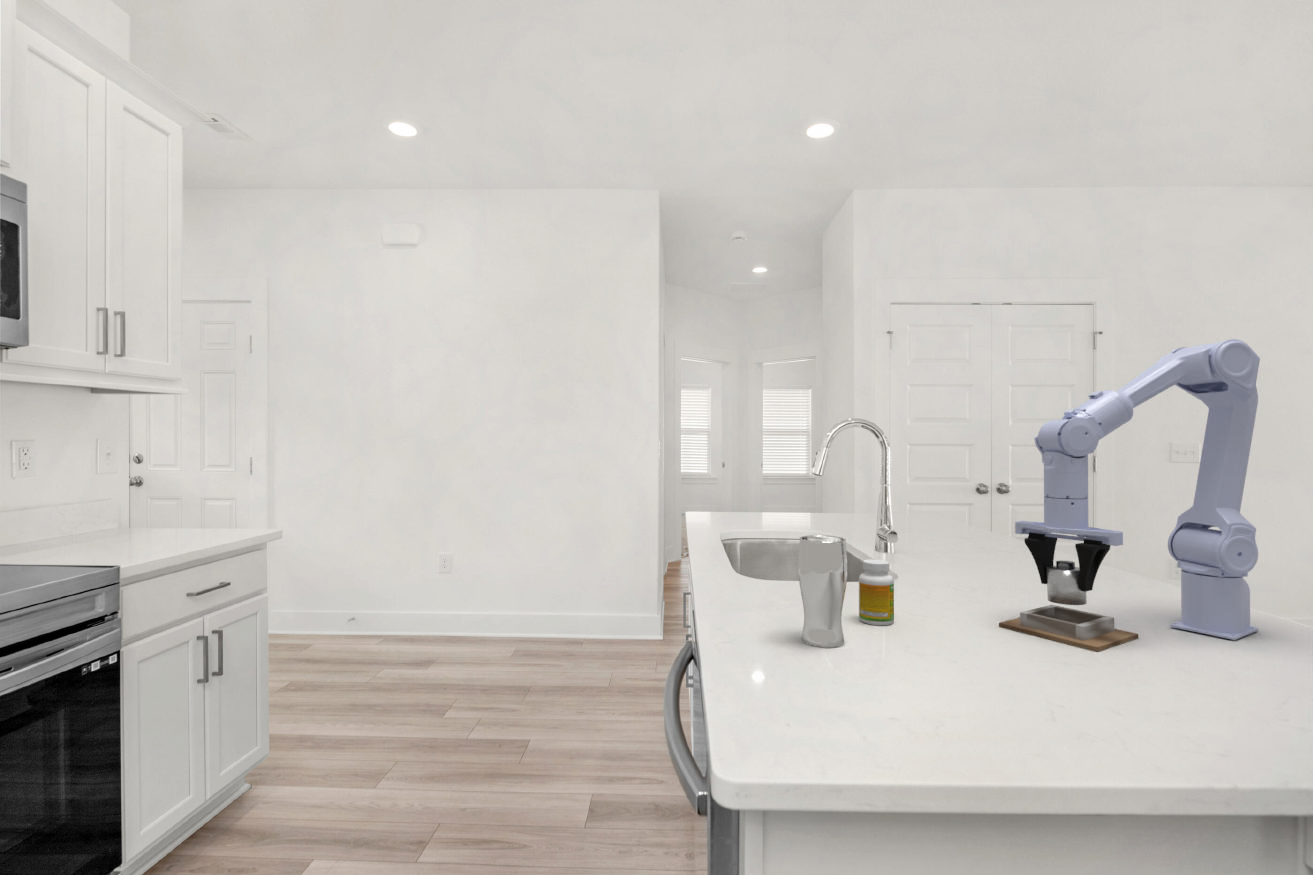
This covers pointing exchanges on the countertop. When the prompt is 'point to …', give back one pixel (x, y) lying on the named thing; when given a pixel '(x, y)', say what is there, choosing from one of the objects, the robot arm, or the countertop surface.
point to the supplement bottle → (876, 593)
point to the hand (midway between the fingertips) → (1066, 586)
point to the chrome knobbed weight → (1065, 584)
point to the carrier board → (1070, 627)
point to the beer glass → (822, 588)
